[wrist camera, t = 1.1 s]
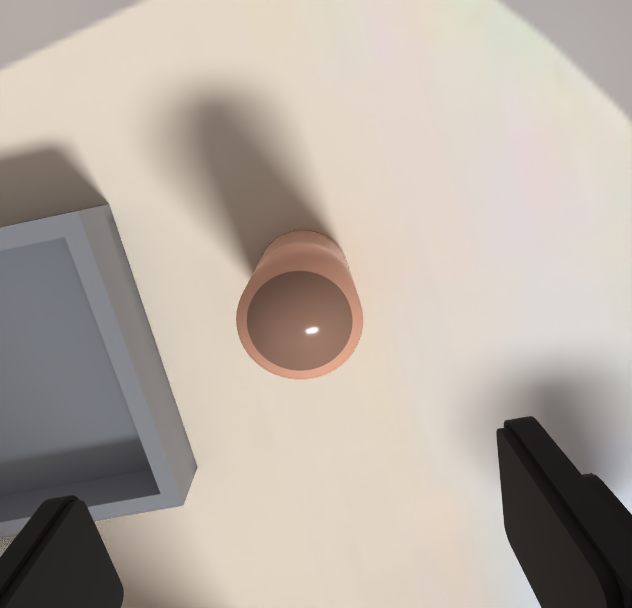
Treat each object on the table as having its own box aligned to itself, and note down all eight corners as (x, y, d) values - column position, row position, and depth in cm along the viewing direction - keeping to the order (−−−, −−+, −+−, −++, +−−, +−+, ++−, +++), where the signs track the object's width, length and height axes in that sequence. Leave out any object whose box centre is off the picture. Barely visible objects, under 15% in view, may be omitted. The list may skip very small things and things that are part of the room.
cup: (356, 309, 31) (372, 367, 22) (269, 325, 31) (253, 389, 23) (339, 221, 29) (350, 248, 21) (248, 240, 30) (221, 274, 21)
